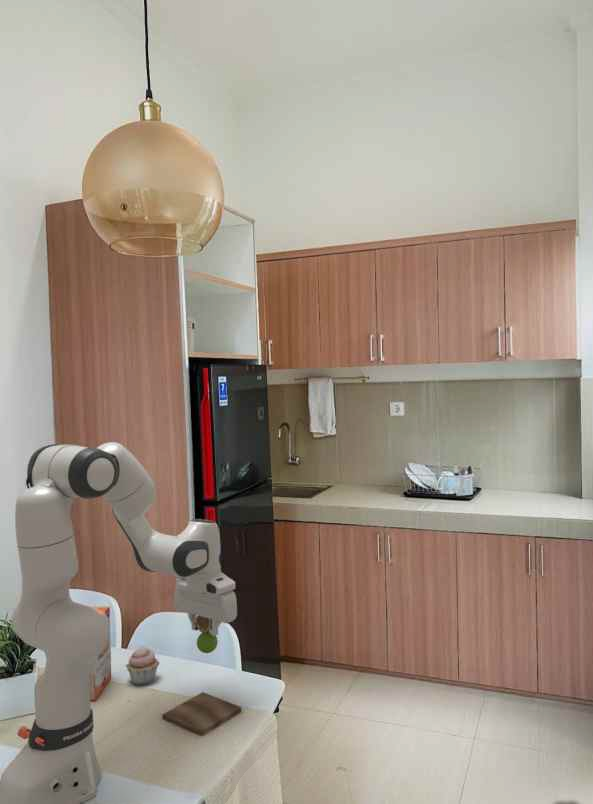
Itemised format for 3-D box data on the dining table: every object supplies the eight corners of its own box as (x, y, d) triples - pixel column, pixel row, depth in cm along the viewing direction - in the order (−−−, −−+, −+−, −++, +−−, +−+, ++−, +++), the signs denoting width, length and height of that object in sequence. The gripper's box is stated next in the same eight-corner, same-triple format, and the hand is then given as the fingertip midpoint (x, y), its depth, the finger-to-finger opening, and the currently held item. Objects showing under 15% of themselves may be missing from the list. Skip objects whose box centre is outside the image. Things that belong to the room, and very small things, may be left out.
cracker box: (97, 701, 175) (94, 623, 174) (75, 701, 175) (71, 624, 174) (113, 677, 189) (110, 605, 188) (92, 677, 189) (89, 605, 188)
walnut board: (201, 736, 156) (201, 731, 156) (162, 718, 165) (162, 714, 165) (241, 711, 167) (241, 707, 167) (202, 696, 176) (202, 692, 176)
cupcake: (150, 669, 193) (149, 636, 192) (165, 680, 186) (164, 646, 185) (120, 679, 187) (119, 645, 187) (134, 691, 180) (133, 655, 179)
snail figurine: (211, 656, 169) (203, 609, 170) (194, 655, 172) (186, 609, 173) (226, 649, 173) (218, 603, 174) (208, 648, 177) (201, 603, 178)
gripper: (168, 576, 177) (168, 627, 177) (223, 589, 165) (224, 644, 165) (185, 571, 182) (186, 620, 182) (240, 583, 170) (241, 636, 170)
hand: (204, 632), depth 173 cm, fingers closed on snail figurine, 5 cm apart
